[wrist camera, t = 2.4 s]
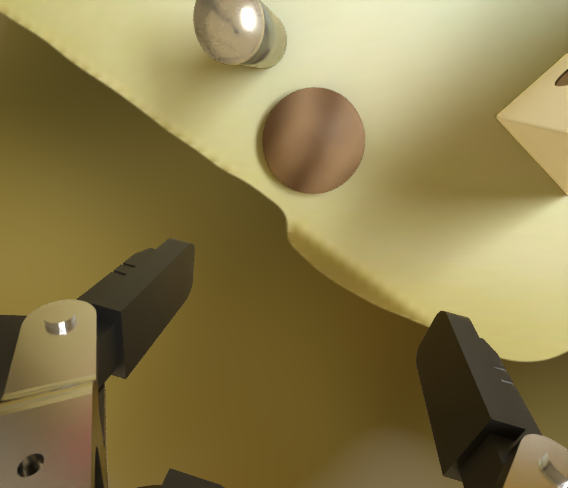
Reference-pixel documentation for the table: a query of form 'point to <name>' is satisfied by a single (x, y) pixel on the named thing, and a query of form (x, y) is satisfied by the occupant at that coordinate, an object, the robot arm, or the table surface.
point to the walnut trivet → (313, 140)
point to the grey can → (239, 32)
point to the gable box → (543, 121)
